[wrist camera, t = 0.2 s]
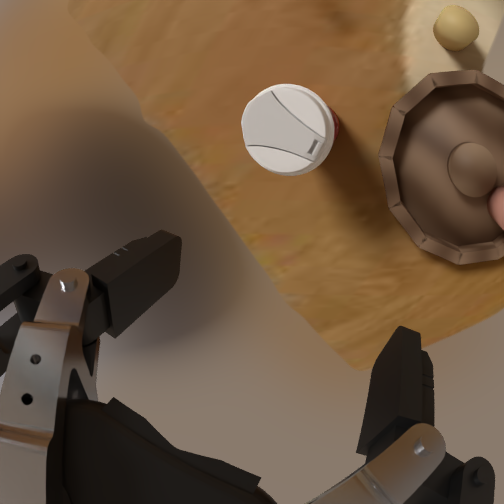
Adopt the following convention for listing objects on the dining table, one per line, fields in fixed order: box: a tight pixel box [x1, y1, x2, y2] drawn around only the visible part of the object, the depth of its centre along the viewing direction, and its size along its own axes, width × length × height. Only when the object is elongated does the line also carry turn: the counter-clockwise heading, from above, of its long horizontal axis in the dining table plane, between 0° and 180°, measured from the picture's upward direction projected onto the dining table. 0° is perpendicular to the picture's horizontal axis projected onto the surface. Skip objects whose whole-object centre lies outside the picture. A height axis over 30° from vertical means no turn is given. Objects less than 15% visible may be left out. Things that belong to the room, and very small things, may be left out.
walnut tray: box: [378, 70, 504, 265], centre depth 27 cm, size 22×22×3 cm
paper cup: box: [241, 84, 339, 176], centre depth 28 cm, size 8×8×14 cm
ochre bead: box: [433, 5, 479, 51], centre depth 20 cm, size 4×4×5 cm
